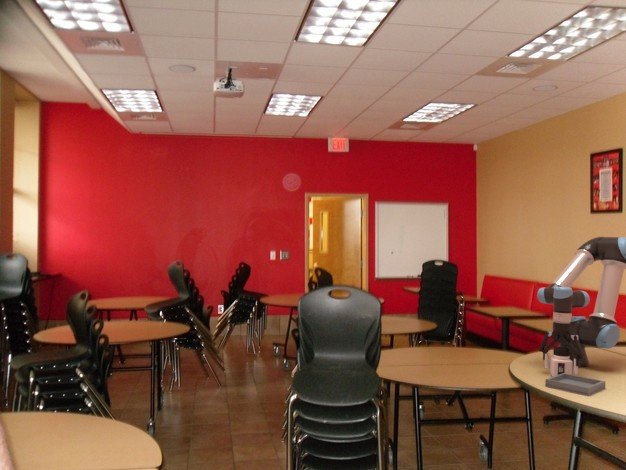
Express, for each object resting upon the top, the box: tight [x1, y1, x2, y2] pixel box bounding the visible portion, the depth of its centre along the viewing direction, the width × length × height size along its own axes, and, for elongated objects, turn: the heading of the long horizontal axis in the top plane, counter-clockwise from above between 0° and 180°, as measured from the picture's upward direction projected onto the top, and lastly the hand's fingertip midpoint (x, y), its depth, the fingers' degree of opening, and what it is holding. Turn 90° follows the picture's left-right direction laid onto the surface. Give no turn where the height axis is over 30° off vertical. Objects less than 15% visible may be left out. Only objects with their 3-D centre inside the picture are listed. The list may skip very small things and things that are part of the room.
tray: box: [544, 373, 606, 397], centre depth 226 cm, size 17×17×3 cm
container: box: [549, 345, 574, 377], centre depth 244 cm, size 8×8×13 cm
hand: (560, 370), depth 244 cm, fingers open, 12 cm apart
